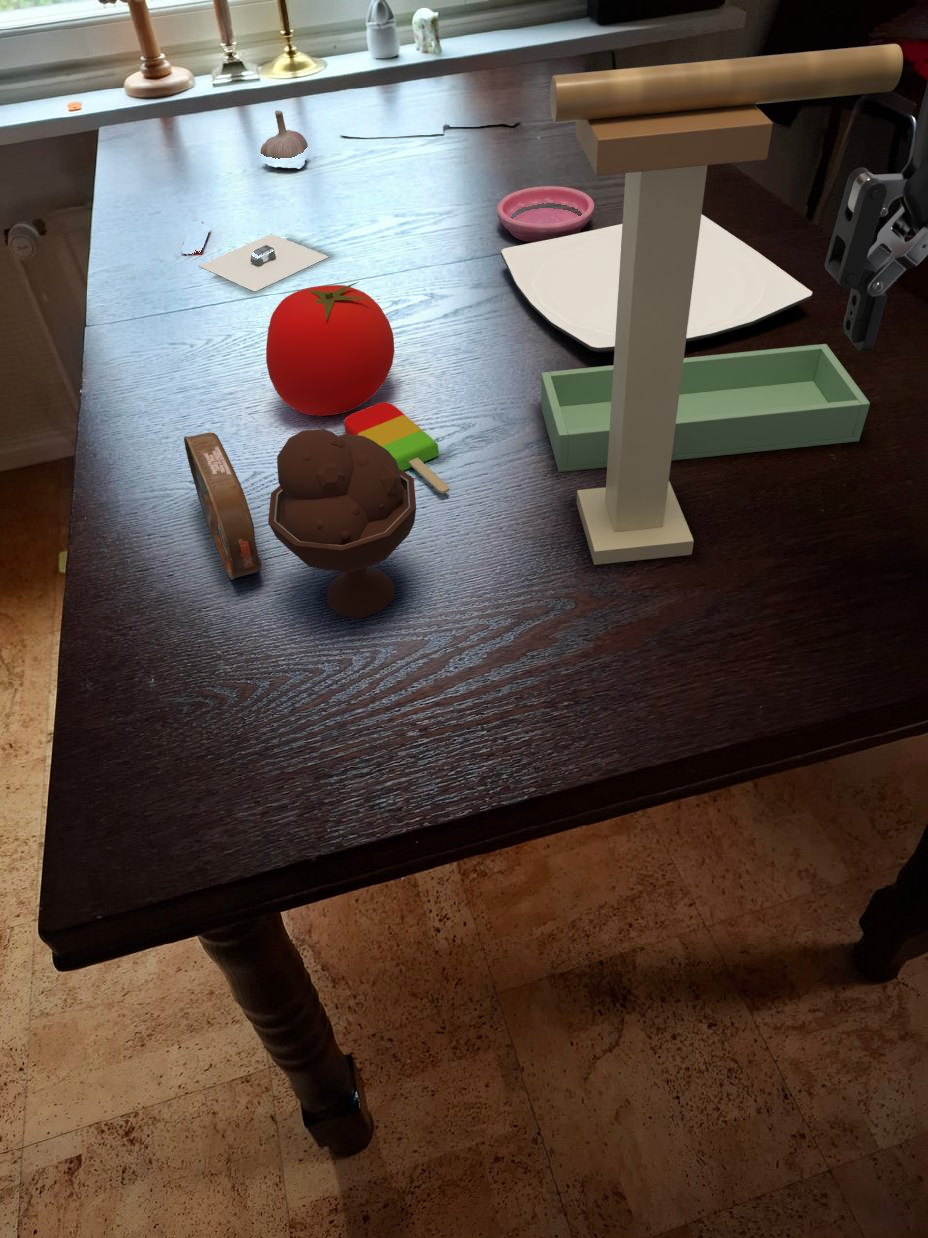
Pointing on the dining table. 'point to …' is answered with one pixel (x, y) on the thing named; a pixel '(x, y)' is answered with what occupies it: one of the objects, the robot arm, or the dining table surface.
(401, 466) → the popsicle
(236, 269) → the beige placemat
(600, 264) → the plate
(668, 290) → the stand
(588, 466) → the tray
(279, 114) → the garlic bulb
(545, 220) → the saucer
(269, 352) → the tomato
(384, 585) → the ice cream bowl
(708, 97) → the wooden rod
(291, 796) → the dining table surface
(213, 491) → the tin
